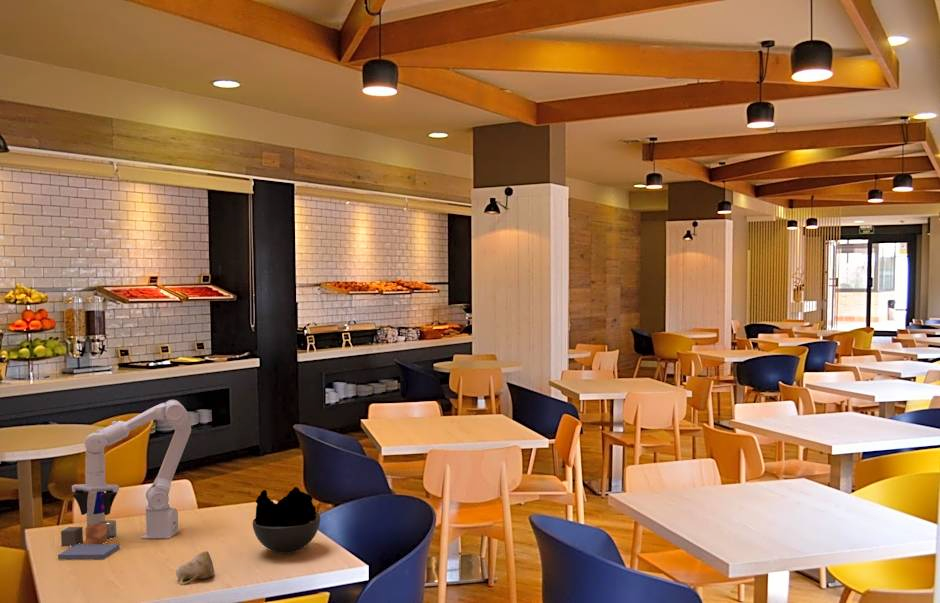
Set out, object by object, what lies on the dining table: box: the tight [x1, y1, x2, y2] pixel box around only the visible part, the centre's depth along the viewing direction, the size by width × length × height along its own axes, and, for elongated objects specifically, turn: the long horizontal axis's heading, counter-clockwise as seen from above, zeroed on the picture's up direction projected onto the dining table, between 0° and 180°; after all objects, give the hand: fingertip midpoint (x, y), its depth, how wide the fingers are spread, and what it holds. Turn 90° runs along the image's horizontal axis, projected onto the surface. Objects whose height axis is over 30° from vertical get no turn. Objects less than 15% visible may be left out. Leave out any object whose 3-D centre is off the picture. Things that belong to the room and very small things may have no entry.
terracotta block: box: [85, 524, 108, 544], centre depth 259 cm, size 4×4×6 cm
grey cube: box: [99, 519, 117, 540], centre depth 266 cm, size 5×5×5 cm
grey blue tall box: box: [86, 489, 106, 527], centre depth 272 cm, size 6×6×15 cm
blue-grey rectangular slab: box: [57, 543, 121, 560], centre depth 249 cm, size 14×10×2 cm
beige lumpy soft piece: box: [175, 550, 215, 586], centre depth 225 cm, size 8×10×10 cm
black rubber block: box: [60, 526, 84, 547], centre depth 260 cm, size 4×4×5 cm
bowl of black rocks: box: [252, 486, 321, 554], centre depth 247 cm, size 20×20×19 cm
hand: (95, 514), depth 259 cm, fingers open, 7 cm apart
